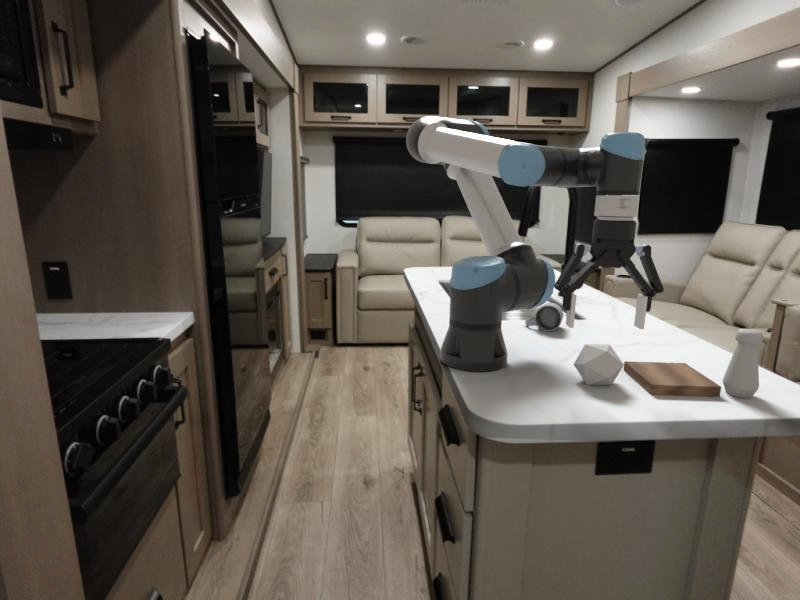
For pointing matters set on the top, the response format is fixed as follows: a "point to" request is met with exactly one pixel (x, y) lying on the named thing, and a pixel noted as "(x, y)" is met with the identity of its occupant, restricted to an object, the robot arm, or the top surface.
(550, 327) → the ceramic mug
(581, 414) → the top surface
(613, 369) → the die
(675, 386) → the walnut board
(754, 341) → the salt shaker
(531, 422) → the top surface
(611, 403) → the top surface
